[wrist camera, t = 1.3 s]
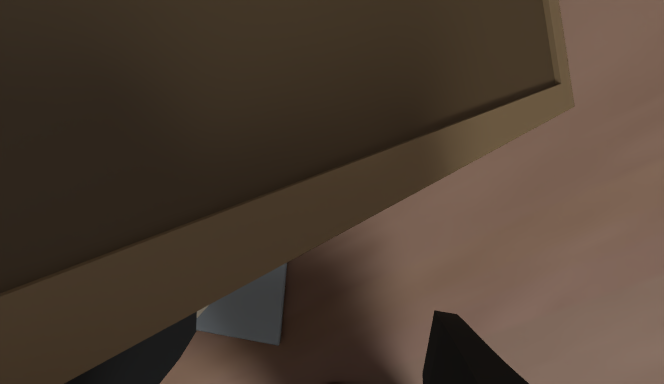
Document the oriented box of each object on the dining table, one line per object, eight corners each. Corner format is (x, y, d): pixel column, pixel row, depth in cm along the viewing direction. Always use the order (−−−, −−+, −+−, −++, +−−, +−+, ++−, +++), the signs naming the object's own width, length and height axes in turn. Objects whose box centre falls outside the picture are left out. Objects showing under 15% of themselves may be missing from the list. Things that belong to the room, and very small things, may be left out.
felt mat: (280, 342, 23) (278, 345, 22) (40, 297, 24) (35, 299, 24) (301, 103, 20) (299, 103, 19) (24, 71, 21) (18, 71, 21)
